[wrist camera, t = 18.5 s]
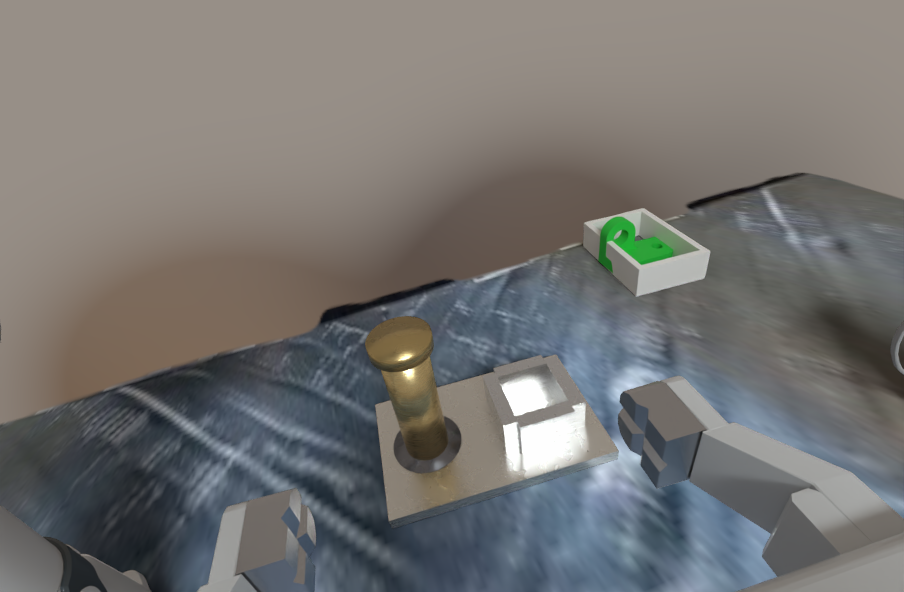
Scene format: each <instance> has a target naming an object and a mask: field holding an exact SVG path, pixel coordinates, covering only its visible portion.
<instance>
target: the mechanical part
mask: <svg viewBox="0 0 904 592" xmlns="http://www.w3.org/2000/svg"><path fill="white" fill-rule="evenodd" d="M620 230H622V231H621V234H620V236H619V237H618V238H616V239H614V236H615V235H616V233H617V232H619V231H620ZM635 233H636V229H635V226H634V224H633V223H632V222H630V221H628V220H627V219H625V218H624V217H620V216H618V217H614V218H612V219H610V220H609V221H608V222H607V223H606V224H605V225H604V226H603V228H602V230H601V233H600V246H599V260H598V261H599V262H600V263H601V264H602V265H604V266H605V267H606V268H607V269H608V270H609V271H611V272H612V273H613V269H612V262H611V261H610V260H609V259H608V258H607V257H606V245H607V242H609V241H613V242H614V243H615V244H617V245H618V246H619V247H620V248H621V249H623V250H624V251H625V252H626V253H627V254H629V255H630V256H631V257H632V258H633V259H635V260H636V261H637V262H638V263H639V264H641V265H644V264H648V263H652V262H656V261H660V260H664V259H667V258H671V257H672V255H673V249H672V248H670V247H669V246H668V245H666V244H665V243H663V242H662V241H661V240H659V239H658V238H656V237H651V238H648V239H644V240H640V241H636V242H634V241H635Z"/></svg>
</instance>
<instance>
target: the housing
mask: <svg viewBox="0 0 904 592" xmlns="http://www.w3.org/2000/svg"><path fill="white" fill-rule="evenodd" d="M493 370H494V372H491V373H488V374H484V375H480V376H477V377H473V378H470V379H466V380H462V381H459V382H455V383H452V384H448V385H444V386H441V387H437V391H438V395H439V399H440V404H441V408H442V412H443V417H444V421H445V426H446V430H447V434H448V445H447V447H446V449H445V450H444V452H443V453H442V454H441V455H439V456H438V457H436V458H434V459H431V460H417V459H415V458H413V457H412V456H410V455H409V453H408V452H407V449H406V446H405V443H404V440H403V437H402V434H401V431H400V428H399V424H398V421H397V418H396V415H395V412H394V409H393V406H392V403H391V400H390V401H386V402H383V403H379V404H376V405H375V407H376V415H377V424H378V433H379V441H380V450H381V458H382V467H383V476H384V484H385V493H386V501H387V510H388V519H389V523H390V525H391V527H392V529H393V528H396V527H399V526H403V525H406V524H409V523H412V522H416V521H419V520H422V519H425V518H429V517H432V516H435V515H438V514H442V513H445V512H448V511H451V510H455V509H458V508H461V507H464V506H468V505H471V504H474V503H477V502H481V501H484V500H487V499H490V498H494V497H497V496H500V495H503V494H507V493H510V492H513V491H516V490H520V489H523V488H526V487H529V486H533V485H536V484H539V483H542V482H546V481H549V480H552V479H555V478H559V477H562V476H565V475H568V474H572V473H575V472H578V471H581V470H585V469H588V468H591V467H594V466H598V465H601V464H604V463H607V462H611V461H614V460H617V459H618V453H619V450H618V449H617V447H616V446H615V444H614V443H613V441H612V440H611V438H610V437H609V435H608V434H607V432H606V430H605V429H604V427H603V426H602V424H601V423H600V421H599V420H598V418H597V417H596V415H595V414H594V412H593V411H592V409H591V407H590V406H589V404H588V403H587V401H586V400H585V398H584V397H583V395H582V394H581V392H580V391H579V389H578V387H577V386H576V384H575V383H574V381H573V380H572V378H571V377H570V375H569V374H568V372H567V371H566V369H565V368H564V366H563V364H562V363H561V361H560V360H559V358H558V357H557V355H553V356H549V357H546V358H543V357H542V356H541V355H539V356H536V357H532V358H528V359H525V360H521V361H518V362H514V363H510V364H507V365H503V366H499V367H496V368H493Z"/></svg>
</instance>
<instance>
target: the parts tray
mask: <svg viewBox="0 0 904 592" xmlns="http://www.w3.org/2000/svg"><path fill="white" fill-rule="evenodd" d="M618 216H620V217H624V218H625V219H627V220H628V221H630V222H632V223H633V224H634V226H635V229H636V233H635V236H638V235H639V236H641V237H642V238H643V239H648V238H651V237H656V238H658V239H659V240H661V241H662V242H663V243H665V244H666V245H668V246H669V247H670V248H672V249H673V255H672V257H671V258H667V259H664V260H660V261H656V262H652V263H648V264H644V265H641V264H639V263H638V262H637V261H636V260H635V259H633V258H632V257H631V256H630V255H629V254H627V253H626V252H625V251H624V250H623V249H621V248H620V247H619V246H618V245H617V244H615V243H614V242H613V241H609V242H607V245H606V257H607V258H608V259H609V260H610V261H611V262H612V269H613V273H612V272H611V271H610V272H611V273H612V274H613V275H614V276H615V277H616V278H617V279H618V280H619V281H620V282H621V283H622V284H624V285H625V286H626V287H627V288H628V289H629V290H630V291H631V292H632V293H633V294H634V295H635V296H640V295H644V294H648V293H651V292H655V291H659V290H663V289H666V288H670V287H674V286H678V285H681V284H685V283H689V282H693V281H696V280H700V279H704V278H705V274H706V270H707V265H708V261H709V256H710V251H709V250H708V249H706V248H704V247H703V246H701V245H700V244H698V243H697V242H695V241H694V240H692V239H690V238H689V237H687V236H686V235H684V234H683V233H681V232H680V231H678V230H676V229H675V228H673V227H672V226H670V225H669V224H667V223H666V222H664V221H663V220H661V219H659V218H658V217H656V216H655V215H653V214H651V213H650V212H649V211H647V210H645V209H644V208H642V209H638V210H634V211H630V212H626V213H622V214H618V215H614V216H610V217H605V218H602V219H597V220H593V221H589V222H585V223H584V237H583V247H584V248H585V249H587V250H588V251H589V252H590V253H591V254H592V255H593V256H594V257H595V258H596V259H597V260H599V246H600V233H601V230H602V228H603V226H604V225H605V224H606V223H607V222H608V221H609V220H610V219H612V218H614V217H618ZM621 231H622V230H620V231H619V232H617V233H616V235H615V236H614V239H616V238H618V237H619V236H620V234H621ZM603 266H604V265H603ZM604 267H605V266H604Z"/></svg>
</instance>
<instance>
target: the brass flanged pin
mask: <svg viewBox="0 0 904 592" xmlns="http://www.w3.org/2000/svg"><path fill="white" fill-rule="evenodd" d="M365 346H366V350H367V353H368V356H369V359H370V361H371V363H372V364H373V365H374V366H375V367H376V368H378V369H380V370H381V372H382V375H383V378H384V381H385V384H386V387H387V390H388V393H389V396H390V400H391V403H392V406H393V409H394V412H395V415H396V418H397V421H398V424H399V428H400V431H401V434H402V437H403V440H404V443H405V446H406V449H407V452H408V453H409V455H410V456H412V457H413V458H415V459H417V460H431V459H434V458H436V457H438V456H439V455H441V454H442V453H443V452H444V450H445V449H446V447H447V445H448V434H447V430H446V426H445V421H444V417H443V412H442V408H441V404H440V399H439V395H438V391H437V386H436V382H435V378H434V373H433V369H432V365H431V360H430V355H431V353H432V351H433V347H434V342H433V337H432V332H431V328H430V326H429V325H428V323H427V322H425V321H424V320H422V319H420V318H417V317H411V316H404V317H397V318H393V319H389V320H387V321H385V322H383V323H381V324H379V325H378V326H376V327H375V328H374V329H373V330H372V331H371V332H370V333H369V335H368V336H367V339H366V342H365Z"/></svg>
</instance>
